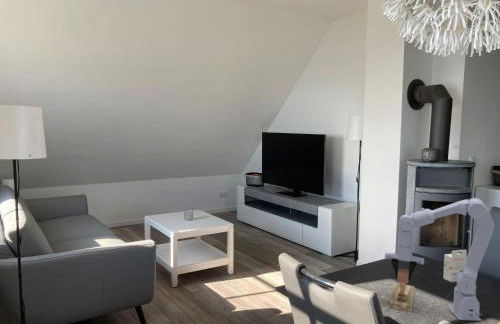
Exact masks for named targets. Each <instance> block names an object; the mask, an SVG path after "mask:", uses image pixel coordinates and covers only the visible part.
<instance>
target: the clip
mask: <svg viewBox="0 0 500 324" xmlns="http://www.w3.org/2000/svg"><path fill="white" fill-rule="evenodd" d="M408 277H409V269H406V268H399V267H398V278H396V279H397V280H396V281H397V282H399V284H400V294H404V290H405V285H407V284H408V283H409V280H408Z"/></svg>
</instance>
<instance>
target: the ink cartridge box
mask: <svg viewBox="0 0 500 324" xmlns="http://www.w3.org/2000/svg"><path fill="white" fill-rule="evenodd" d="M467 251H468V250H467V249H456V250H452V251H451V253H448V254H447V253H445V254H444V255H443V257H444V258H443V259H444V260H443V276H442V277H443V279H444V280H446V281H448V282H449V283H454V282H456V283H457V281H456V274H457V273H458V272H459V271H460V270H461V269H462V266H463V265H464V264H465V261H466V259H467V256H468V254H467V253H468V252H467Z"/></svg>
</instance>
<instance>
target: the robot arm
mask: <svg viewBox="0 0 500 324" xmlns="http://www.w3.org/2000/svg"><path fill="white" fill-rule="evenodd" d="M454 214H455V215H456V214H460V215H463V216H467V214H468V215H469V216H470V218H472V219H473V220H474V221H475V222H476V223H477V225H478V227H477V229H476V232H475V235H474V238H473V241H472V243H471V246H470V249H469V251H468V252H467V253H468V254H467V259H466V261H465V264H464V265H463V266H462V269H461V270H460V271H459V272H458V273H457V274H456V286H455V287H454V290H453V305H452V306H451V307H450V306H449V307H448V310H449V311H450V312H451V313H452V314H453V315H454V316H455V318H457V319H458V320H459V321H475V322H477V321H479V322H480V321H482V319H481V317H480V308H481V307H480V302H479V300H478V298H477V296H476V295H477V283H476V282H477V279H478V272H479V269H480V267H481V264H482V262H483V258H484V256H485V254H486V252H487V249H488V245H489V244H490V240H491V238H492V237H493V233H494V230H495V223H494V219H493V217H492V213H491V211H490V209H489V207H488V206H487V205H486V204H485V203H484V201H483V200H482V199H480V198H478V197H472V198H469V199H467V198H466V199H463V200H459V201H456V202H454V203H453V202H452V203H450V204H448V205H445V206H441V207H439V208H435V209H433V210H432V209H430V208H424V207H422V208H420V210H418V211H415V212H409V213H408V214H402V215H401V216H400V217H399V219H398V221H397V226H398V230H397V231H398V233H397V242H396V243H397V244H396V253H388V252H385V254H384V259H385V260H391V265H392V268H393V270H394V274H395V279H397V278H398V269H399V261H402V262H409V266H408V267H409V269H408V270H409V277H408V280H409V281H411V278H412V274H413V272H414V271H415V269H416V267H417V264H421V265H424V264H425V258H424V257H420V256H414V255H413V247H414V233H413V232H414V229H415V228H420V227H424V226H427V225H430V224H433V223H434V222H435V220H436V219H439V218H443V217H447V216H451V215H454ZM409 281H408V282H409Z"/></svg>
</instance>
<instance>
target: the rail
mask: <svg viewBox="0 0 500 324" xmlns="http://www.w3.org/2000/svg"><path fill="white" fill-rule="evenodd" d="M414 296H415V286H414V285H408V284H406V285H405V290H404V294H400V283H395V282H394V285H393V290H392V293H391V297H390V301H389V308H390V309H396V310H399V311H400V310H401V311H405V312H413V304H414Z"/></svg>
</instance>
